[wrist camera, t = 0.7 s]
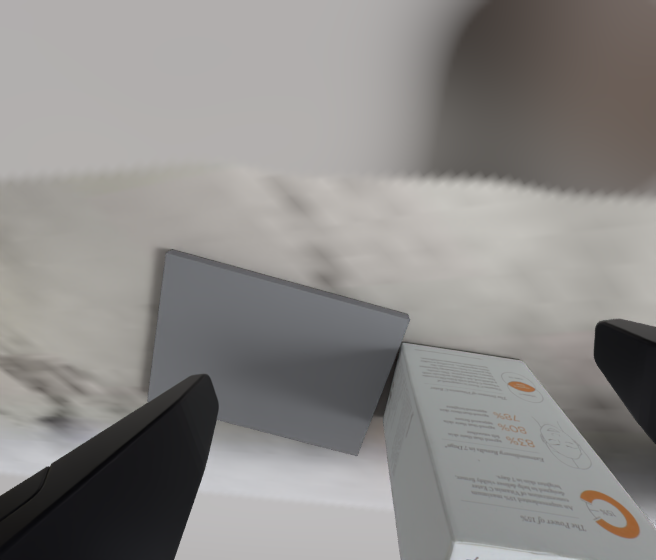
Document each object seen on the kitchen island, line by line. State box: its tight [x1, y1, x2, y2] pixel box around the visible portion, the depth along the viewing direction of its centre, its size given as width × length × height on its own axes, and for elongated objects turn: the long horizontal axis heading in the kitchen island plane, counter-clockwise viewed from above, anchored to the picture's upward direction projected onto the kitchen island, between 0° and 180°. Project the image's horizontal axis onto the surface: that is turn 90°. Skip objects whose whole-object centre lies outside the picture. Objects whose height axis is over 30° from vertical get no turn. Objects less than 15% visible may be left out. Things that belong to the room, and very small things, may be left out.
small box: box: [383, 343, 656, 560], centre depth 19 cm, size 8×6×13 cm
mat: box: [147, 249, 410, 456], centre depth 25 cm, size 15×11×1 cm
